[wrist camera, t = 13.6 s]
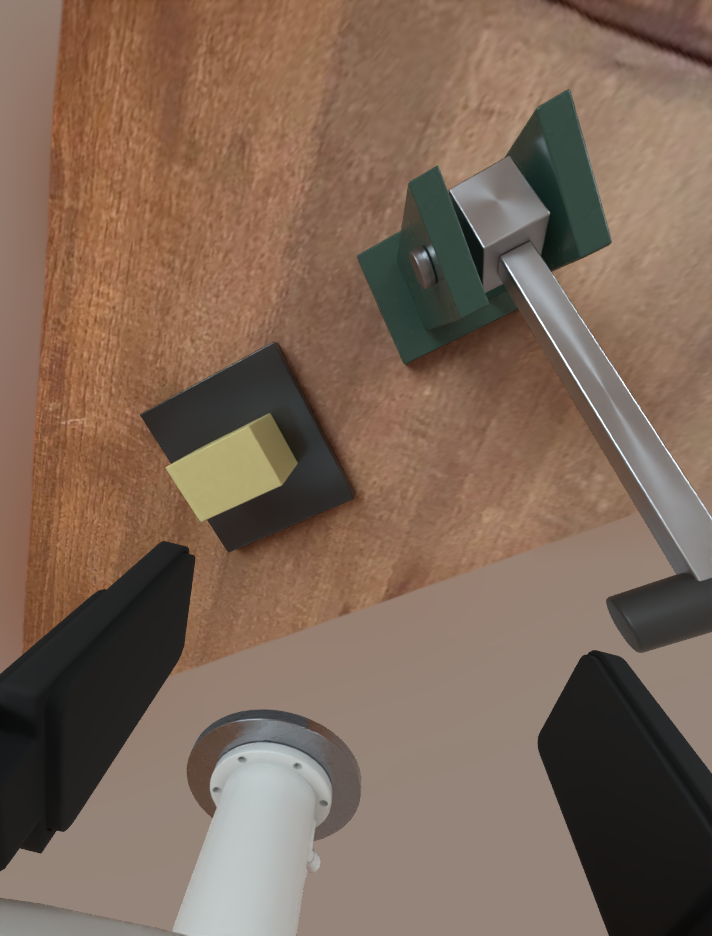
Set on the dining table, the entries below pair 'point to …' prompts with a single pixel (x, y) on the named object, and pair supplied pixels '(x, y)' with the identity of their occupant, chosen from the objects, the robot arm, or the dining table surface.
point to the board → (237, 404)
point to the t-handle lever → (595, 405)
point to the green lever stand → (446, 251)
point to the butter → (234, 468)
